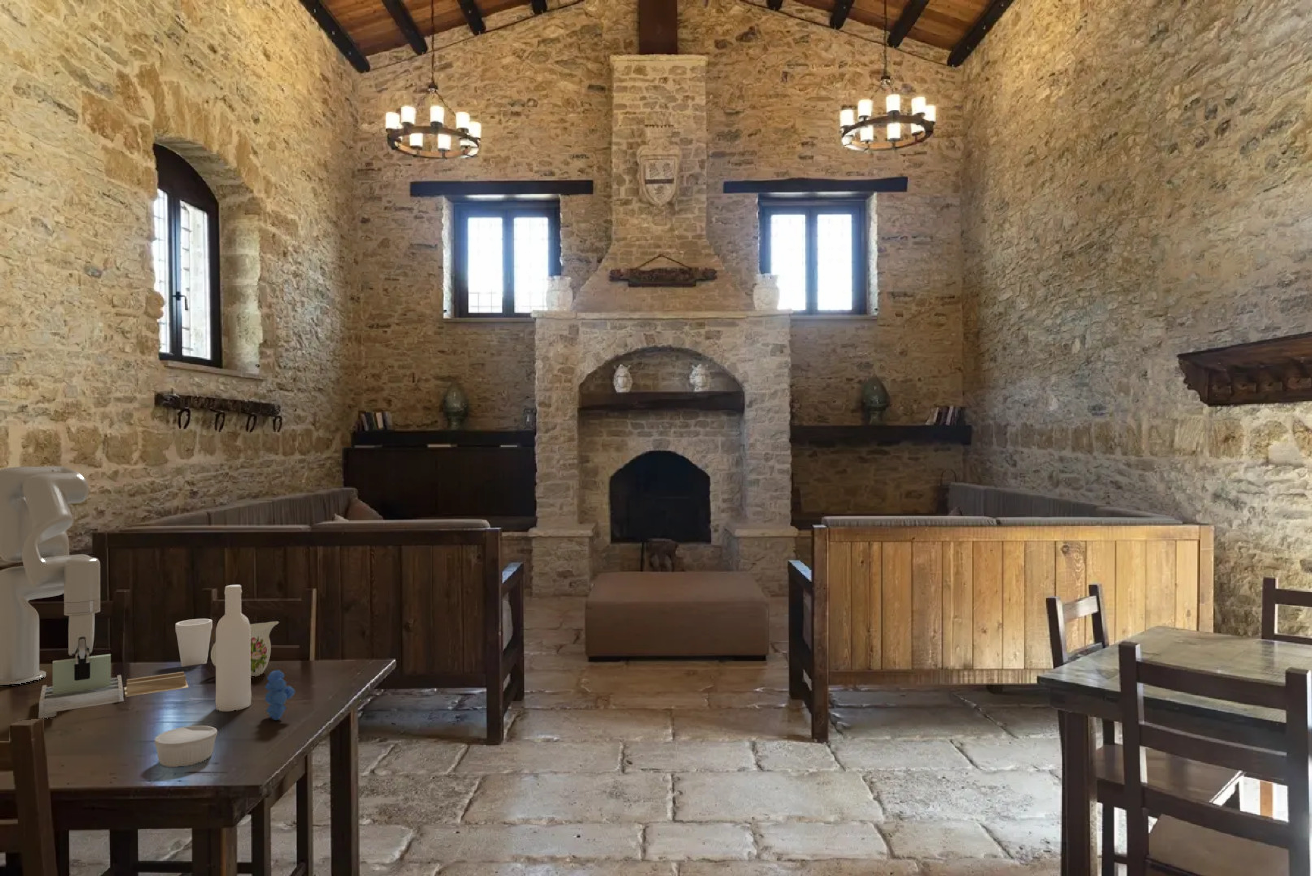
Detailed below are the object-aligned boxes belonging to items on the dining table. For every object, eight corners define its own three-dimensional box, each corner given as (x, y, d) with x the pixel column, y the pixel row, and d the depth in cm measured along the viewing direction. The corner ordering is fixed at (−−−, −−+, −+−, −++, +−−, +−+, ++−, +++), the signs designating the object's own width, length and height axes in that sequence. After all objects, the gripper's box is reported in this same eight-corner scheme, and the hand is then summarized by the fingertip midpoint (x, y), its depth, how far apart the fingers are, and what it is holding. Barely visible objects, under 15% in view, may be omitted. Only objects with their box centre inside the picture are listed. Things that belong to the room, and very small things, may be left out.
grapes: (301, 722, 193) (301, 671, 193) (269, 728, 189) (269, 676, 189) (290, 709, 202) (290, 660, 202) (260, 715, 198) (259, 665, 198)
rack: (42, 701, 211) (42, 685, 211) (121, 689, 220) (121, 674, 221) (38, 720, 196) (38, 703, 196) (123, 706, 206) (123, 690, 206)
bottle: (236, 712, 200) (235, 588, 201) (207, 710, 202) (207, 588, 202) (258, 702, 208) (257, 583, 209) (231, 700, 210) (230, 582, 210)
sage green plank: (52, 701, 206) (52, 661, 206) (110, 692, 213) (110, 653, 213) (52, 703, 204) (52, 662, 204) (110, 694, 211) (110, 655, 211)
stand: (124, 692, 217) (124, 677, 217) (185, 684, 225) (185, 669, 225) (125, 702, 209) (125, 686, 209) (188, 692, 217) (188, 677, 217)
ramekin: (227, 749, 176) (227, 724, 176) (199, 769, 165) (199, 743, 165) (173, 749, 176) (173, 725, 176) (142, 770, 165) (142, 744, 165)
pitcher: (205, 677, 231) (204, 628, 232) (271, 665, 244) (271, 618, 244) (217, 685, 224) (217, 634, 224) (285, 672, 236) (285, 624, 236)
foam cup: (184, 672, 238) (184, 626, 238) (170, 667, 243) (169, 622, 243) (218, 664, 245) (217, 621, 245) (203, 660, 251) (203, 617, 251)
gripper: (64, 603, 214) (64, 670, 213) (63, 614, 199) (63, 685, 199) (99, 600, 218) (99, 665, 218) (100, 610, 203) (100, 680, 203)
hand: (82, 675), depth 208 cm, fingers open, 9 cm apart
